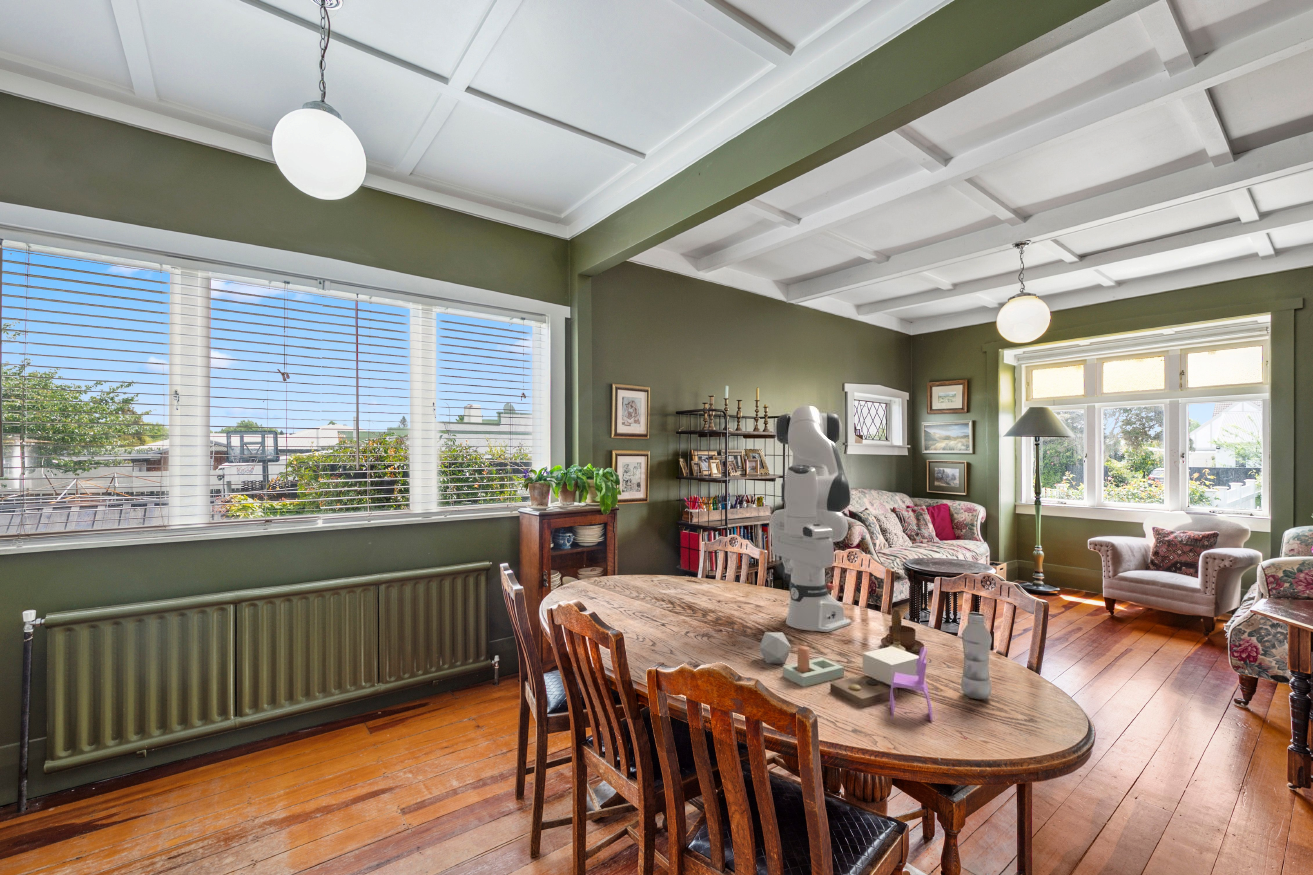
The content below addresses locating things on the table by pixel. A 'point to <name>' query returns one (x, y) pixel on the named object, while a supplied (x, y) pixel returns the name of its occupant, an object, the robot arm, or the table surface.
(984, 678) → the plastic bottle
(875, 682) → the pattern board
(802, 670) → the terracotta peg
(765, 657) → the die
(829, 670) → the socket board
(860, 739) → the table surface
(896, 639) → the hand bell
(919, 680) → the toy chair
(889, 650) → the white block
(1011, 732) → the table surface
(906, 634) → the cup and saucer
